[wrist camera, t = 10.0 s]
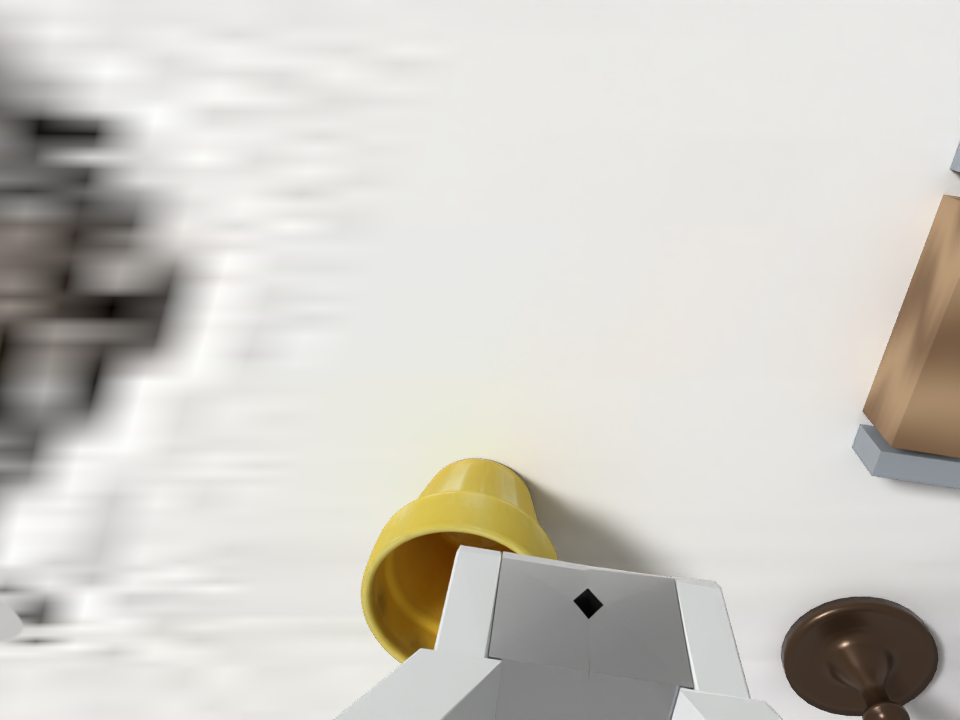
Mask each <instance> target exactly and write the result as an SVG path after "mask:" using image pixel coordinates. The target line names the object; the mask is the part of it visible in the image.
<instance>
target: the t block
mask: <svg viewBox="0 0 960 720" xmlns="http://www.w3.org/2000/svg"><path fill="white" fill-rule="evenodd" d="M863 413H864V414H865V415H866V416H867V418H868V419H869V420H870V421H871V423H872V424H873V425H874V426H875V428H876V429H877V430H878V431H879V433H880V434H881V435H882V436H883V438H884V439H885V440H886V441H887V443H888V444H889V445H890V446H891V447H894V448H901V449H907V450H913V451H919V452H925V453H932V454H938V455H944V456H950V457H957V458H960V197H956V196H949V195H943V197H942V200H941V203H940V205H939V208H938V211H937V213H936V216H935V219H934V221H933V224H932V227H931V229H930V232H929V235H928V238H927V240H926V243H925V246H924V248H923V251H922V254H921V256H920V259H919V262H918V264H917V267H916V270H915V272H914V275H913V278H912V280H911V283H910V286H909V288H908V291H907V294H906V296H905V299H904V302H903V304H902V307H901V310H900V312H899V315H898V318H897V320H896V323H895V326H894V328H893V331H892V334H891V336H890V339H889V342H888V344H887V347H886V350H885V352H884V355H883V358H882V360H881V363H880V366H879V368H878V371H877V374H876V376H875V379H874V382H873V384H872V387H871V390H870V392H869V395H868V398H867V400H866V403H865V406H864V408H863Z"/></svg>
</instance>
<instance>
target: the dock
mask: <svg viewBox="0 0 960 720" xmlns="http://www.w3.org/2000/svg"><path fill="white" fill-rule="evenodd" d="M950 169H951V170H954V171H957V172H960V143H959V146H958V148H957V151H956V154H955V157H954V160H953V163H952V165H951V168H950ZM852 448H853V450H854V451H855V453H856V454H857V455H858V457H859V458H860V460H861V461H862V463H863V464H864V465H865V467H866V468H867V470H868V471H869V472H870V474H871V475H872V476H877V477H883V478H890V479H897V480H904V481H911V482H917V483H924V484H931V485H938V486H945V487H951V488H958V489H960V458H957V457H950V456H944V455H938V454H932V453H925V452H919V451H913V450H907V449H901V448H894V447H891V446H890V445H889V444H888V443H887V441H886V440H885V439H884V438H883V436H882V435H881V434H880V433H879V431H878V430H877V429H876V428H875V426H868V425H861V424H860V426H859V429H858V432H857V435H856V438H855V440H854V443H853V446H852Z"/></svg>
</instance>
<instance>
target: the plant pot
mask: <svg viewBox="0 0 960 720" xmlns="http://www.w3.org/2000/svg"><path fill="white" fill-rule="evenodd" d="M460 545H463V546H469V547H476V548H482V549H488V550H494V551H500V552H501V553H502V555H503V551H504V552H510V553H516V554H522V555H528V556H534V557H540V558H546V559H552V560H558V558H557V555H556V552H555V549H554V547H553V545H552V543H551V541H550V539H549V537H548V536H547V534H546V533H545V532H544V530H543V529H542V528H541V526H540V525H539V524H538V521H537V517H536V514H535V510H534V506H533V502H532V499H531V495H530V492H529V490H528V488H527V486H526V485H525V483H524V482H523V480H522V479H521V478H520V477H519V476H518V475H517V474H516V473H515V472H513V471H512V470H511V469H509V468H508V467H506V466H504V465H502V464H500V463H497V462H494V461H491V460H486V459H465V460H460V461H457V462H454V463H452V464H450V465H448V466H446V467H445V468H443V469H442V470H441V471H439V472H438V473H437V474H436V476H435V477H434V478H433V479H432V481H431V482H430V483H429V484H428V486H427V487H426V488H425V490H424V491H423V492H422V493H421V495H420V496H419V497H418V499H417V500H415V501H413V502H411V503H409V504H407V505H406V506H404V507H403V508H402V509H400V510H399V511H398V512H397V513H396V514H395V515H394V516H393V517H392V518H391V519H390V520H389V521H388V523H387V524H386V525H385V527H384V529H383V530H382V532H381V534H380V536H379V538H378V540H377V542H376V544H375V546H374V549H373V551H372V553H371V556H370V558H369V561H368V564H367V566H366V569H365V572H364V575H363V580H362V586H361V603H362V608H363V613H364V616H365V619H366V621H367V624H368V626H369V628H370V630H371V631H372V633H373V635H374V636H375V638H376V639H377V641H378V642H379V643H380V644H381V646H382V647H383V648H384V649H385V650H386V651H387V652H388V653H389V654H390V655H391V656H393V657H394V658H395V659H396V660H397V661H399V662H400V663H403V662H404V661H406V660H407V659H408V658H409V657H410V656H412V655H413V654H414V653H415V652H417V651H418V650H419V649H420V648H423V649H430V650H434V647H435V643H436V638H437V634H438V630H439V625H440V621H441V617H442V612H443V608H444V604H445V599H446V595H447V591H448V586H449V582H450V578H451V573H452V569H453V565H454V560H455V556H456V553H457V551H458V549H459V547H460ZM501 562H502V556H501ZM500 569H501V567H500Z"/></svg>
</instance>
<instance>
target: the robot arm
mask: <svg viewBox="0 0 960 720" xmlns="http://www.w3.org/2000/svg"><path fill="white" fill-rule="evenodd" d="M501 556H502V562H501ZM500 567H501V569H500ZM334 720H783V719H782V718H781V717H780V716H779V715H778V714H777V713H776V712H775V711H774V710H773V709H772V708H771V707H770V706H769V705H768V704H767V703H766V702H765V701H760V700H754V699H751V697H750V694H749V690H748V686H747V683H746V679H745V675H744V671H743V668H742V664H741V660H740V656H739V653H738V649H737V645H736V642H735V638H734V634H733V630H732V627H731V623H730V619H729V616H728V612H727V608H726V604H725V601H724V597H723V593H722V590H721V587H720V586H719V585H718V584H717V582H716V581H710V580H701V579H693V578H685V577H676V576H671V577H668V576H660V575H653V574H646V573H639V572H631V571H624V570H617V569H609V568H602V567H595V566H587V565H583V564H577V563H571V562H564V561H558V560H552V559H546V558H540V557H534V556H528V555H522V554H516V553H510V552H504V551H503V555H502V553H501V552H500V551H494V550H488V549H482V548H476V547H469V546H463V545H460V547H459V549H458V551H457V553H456V556H455V560H454V565H453V569H452V573H451V578H450V582H449V586H448V591H447V595H446V599H445V604H444V608H443V612H442V617H441V621H440V625H439V630H438V634H437V638H436V643H435V647H434V650H430V649H423V648H420V649H419V650H418V651H417V652H415V653H414V654H413V655H412V656H410V657H409V658H408V659H407V660H406V661H404V662H403V663H402V664H401V665H399V666H398V667H397V668H396V669H395V670H393V671H392V672H391V673H390V674H388V675H387V676H386V677H385V678H384V679H382V680H381V681H380V682H379V683H377V684H376V685H375V686H374V687H373V688H371V689H370V690H369V691H368V692H367V693H365V694H364V695H363V696H362V697H360V698H359V699H358V700H357V701H356V702H354V703H353V704H352V705H351V706H349V707H348V708H347V709H346V710H345V711H343V712H342V713H341V714H340V715H338V716H337V717H336V718H335V719H334Z"/></svg>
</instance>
